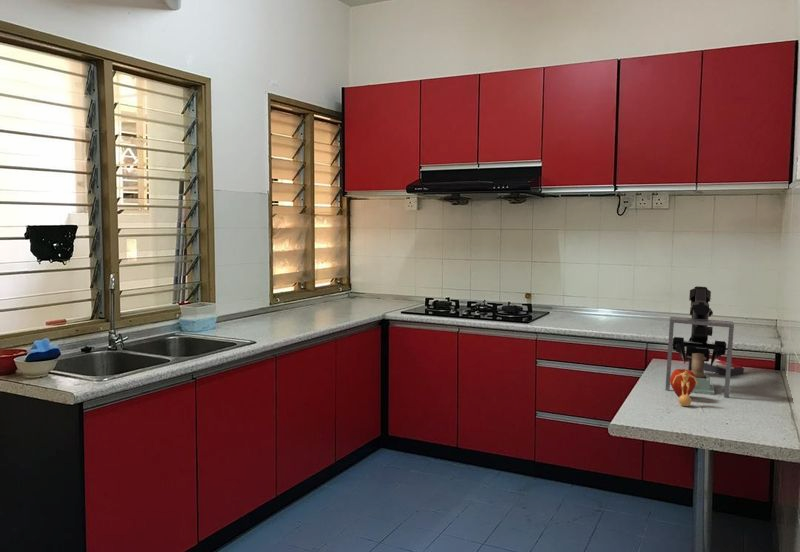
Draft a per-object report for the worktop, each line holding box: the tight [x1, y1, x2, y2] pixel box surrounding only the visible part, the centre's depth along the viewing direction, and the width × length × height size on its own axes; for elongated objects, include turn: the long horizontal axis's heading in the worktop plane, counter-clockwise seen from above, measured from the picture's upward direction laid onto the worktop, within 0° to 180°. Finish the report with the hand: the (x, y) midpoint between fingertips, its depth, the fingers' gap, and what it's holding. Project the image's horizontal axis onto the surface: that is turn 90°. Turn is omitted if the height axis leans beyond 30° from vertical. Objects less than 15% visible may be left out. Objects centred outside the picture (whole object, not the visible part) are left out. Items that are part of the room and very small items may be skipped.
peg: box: [691, 353, 706, 379], centre depth 245 cm, size 4×4×12 cm
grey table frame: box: [665, 316, 735, 399], centre depth 240 cm, size 8×21×27 cm, turn 66°
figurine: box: [672, 371, 698, 407], centre depth 222 cm, size 8×6×12 cm
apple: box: [670, 368, 696, 398], centre depth 231 cm, size 9×8×11 cm
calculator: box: [704, 358, 745, 377], centre depth 278 cm, size 11×4×15 cm
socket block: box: [691, 374, 715, 396], centre depth 245 cm, size 12×12×5 cm
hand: (698, 363), depth 243 cm, fingers open, 9 cm apart
